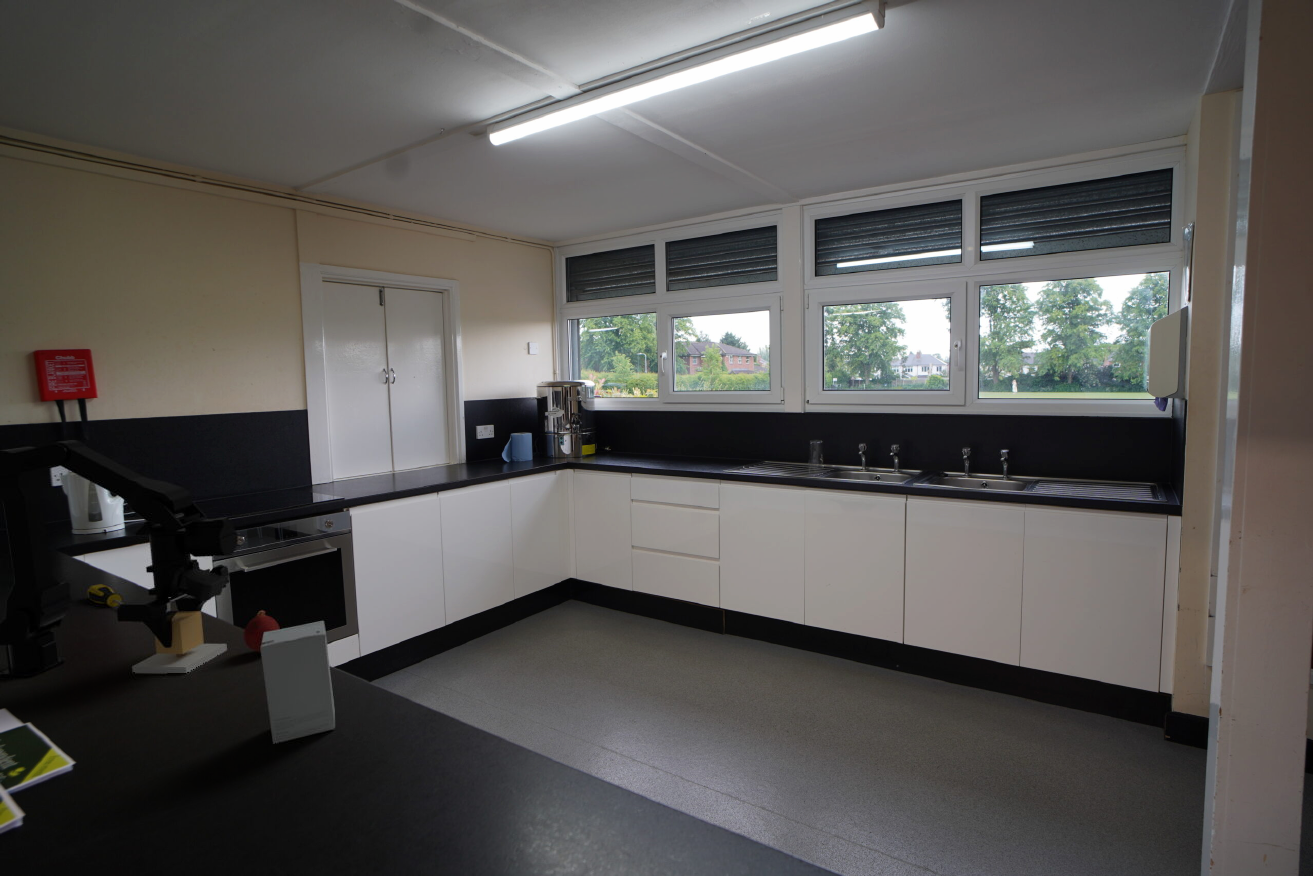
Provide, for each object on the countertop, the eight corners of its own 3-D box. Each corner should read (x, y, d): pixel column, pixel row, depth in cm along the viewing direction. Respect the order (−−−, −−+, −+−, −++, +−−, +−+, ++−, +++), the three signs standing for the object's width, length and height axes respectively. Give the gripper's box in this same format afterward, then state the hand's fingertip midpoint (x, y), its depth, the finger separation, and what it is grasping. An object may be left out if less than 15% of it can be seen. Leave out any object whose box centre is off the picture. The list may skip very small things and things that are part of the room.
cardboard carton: (156, 653, 121) (153, 621, 120) (178, 642, 126) (175, 611, 125) (182, 654, 121) (179, 621, 120) (203, 642, 126) (200, 611, 125)
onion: (265, 660, 123) (261, 617, 122) (238, 658, 124) (234, 616, 123) (288, 647, 129) (285, 606, 128) (262, 645, 130) (258, 605, 129)
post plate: (132, 673, 119) (129, 641, 118) (177, 649, 129) (174, 620, 128) (186, 673, 118) (183, 642, 118) (227, 650, 128) (224, 620, 128)
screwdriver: (84, 586, 160) (136, 610, 143) (102, 582, 163) (155, 605, 146) (86, 600, 160) (138, 626, 144) (104, 596, 163) (156, 621, 146)
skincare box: (334, 713, 103) (327, 618, 102) (335, 731, 98) (327, 632, 96) (271, 727, 100) (263, 629, 98) (268, 747, 94) (259, 644, 93)
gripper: (172, 573, 112) (181, 664, 113) (249, 544, 130) (255, 622, 132) (109, 573, 113) (119, 663, 114) (194, 544, 131) (201, 622, 133)
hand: (179, 641), depth 123 cm, fingers closed on cardboard carton, 5 cm apart
